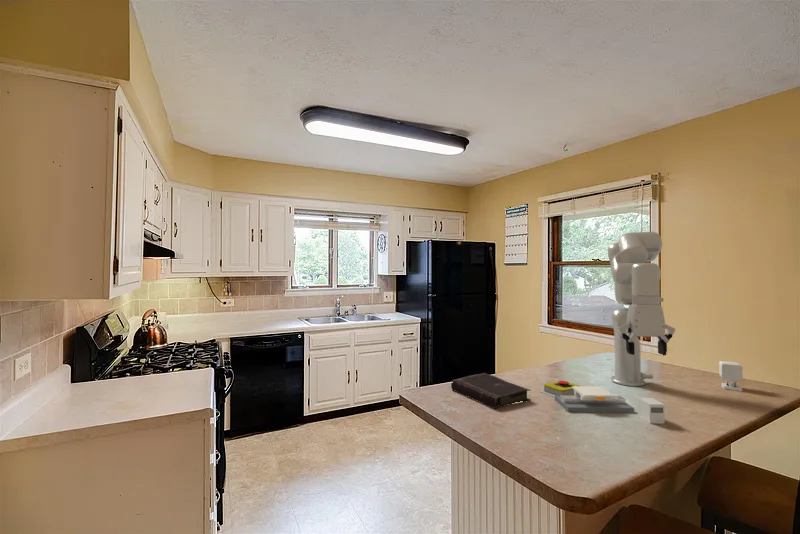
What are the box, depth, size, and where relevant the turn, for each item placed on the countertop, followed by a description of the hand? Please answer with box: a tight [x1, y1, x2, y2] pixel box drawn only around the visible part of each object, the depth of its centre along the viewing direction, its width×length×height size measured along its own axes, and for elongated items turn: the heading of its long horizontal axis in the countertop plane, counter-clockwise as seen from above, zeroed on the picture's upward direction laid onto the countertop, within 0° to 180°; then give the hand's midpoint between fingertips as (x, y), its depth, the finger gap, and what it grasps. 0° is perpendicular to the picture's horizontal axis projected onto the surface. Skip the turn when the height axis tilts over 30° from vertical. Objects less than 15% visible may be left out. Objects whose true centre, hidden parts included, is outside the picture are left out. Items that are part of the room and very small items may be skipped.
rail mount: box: [554, 395, 635, 413], centre depth 134 cm, size 22×12×3 cm, turn 87°
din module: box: [637, 397, 666, 424], centre depth 121 cm, size 4×6×6 cm
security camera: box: [718, 360, 744, 392], centre depth 153 cm, size 6×7×10 cm
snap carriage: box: [572, 385, 615, 401], centre depth 133 cm, size 10×11×2 cm
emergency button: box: [539, 380, 580, 398], centre depth 149 cm, size 9×4×15 cm
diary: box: [450, 372, 532, 410], centre depth 146 cm, size 19×25×5 cm
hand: (646, 354), depth 122 cm, fingers open, 9 cm apart
